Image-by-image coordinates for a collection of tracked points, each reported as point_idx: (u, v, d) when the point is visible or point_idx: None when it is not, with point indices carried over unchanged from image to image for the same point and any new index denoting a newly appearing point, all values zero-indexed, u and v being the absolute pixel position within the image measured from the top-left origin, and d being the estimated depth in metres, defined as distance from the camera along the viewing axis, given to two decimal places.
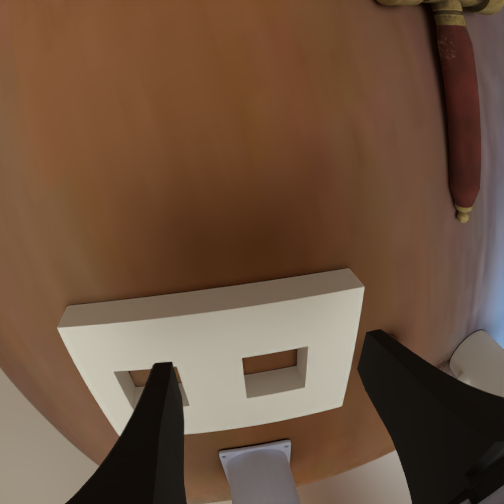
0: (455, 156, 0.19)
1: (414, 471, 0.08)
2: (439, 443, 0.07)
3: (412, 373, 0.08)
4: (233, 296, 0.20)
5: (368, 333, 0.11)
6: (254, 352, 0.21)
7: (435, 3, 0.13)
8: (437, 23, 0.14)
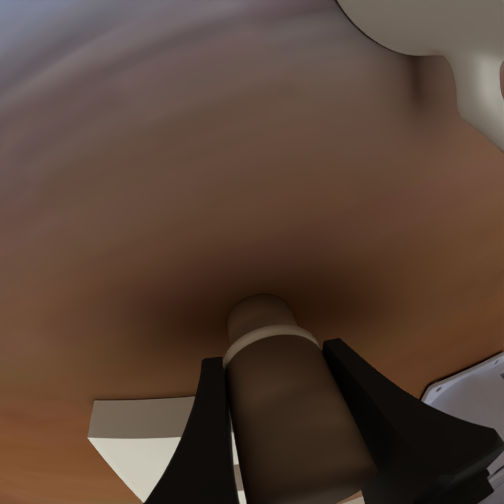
0: None
1: (369, 489, 0.07)
2: (389, 465, 0.06)
3: (364, 388, 0.08)
4: None
5: (325, 343, 0.11)
6: None
7: None
8: None
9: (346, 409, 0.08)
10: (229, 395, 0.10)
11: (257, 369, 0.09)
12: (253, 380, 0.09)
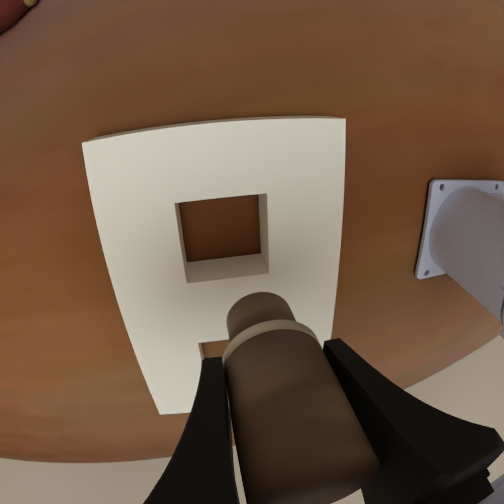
0: None
1: (369, 489, 0.07)
2: (389, 465, 0.06)
3: (364, 388, 0.08)
4: None
5: (326, 342, 0.11)
6: (178, 270, 0.17)
7: None
8: None
9: (347, 403, 0.08)
10: (229, 390, 0.10)
11: (258, 362, 0.09)
12: (254, 373, 0.09)
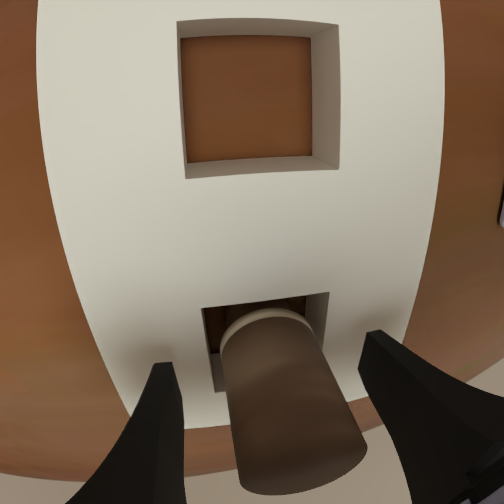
0: None
1: (414, 471, 0.08)
2: (439, 443, 0.07)
3: (412, 373, 0.08)
4: None
5: (369, 334, 0.11)
6: (170, 150, 0.08)
7: None
8: None
9: (337, 386, 0.09)
10: (225, 373, 0.10)
11: (252, 347, 0.10)
12: (249, 357, 0.10)
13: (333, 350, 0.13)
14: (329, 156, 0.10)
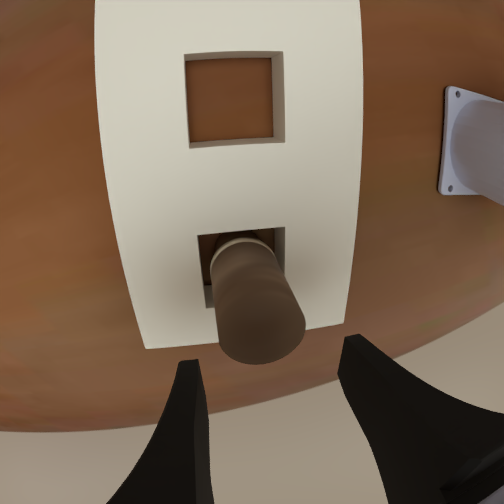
0: None
1: (391, 481, 0.08)
2: (414, 454, 0.07)
3: (388, 381, 0.08)
4: None
5: (347, 338, 0.11)
6: (180, 131, 0.14)
7: None
8: None
9: (285, 280, 0.14)
10: (212, 279, 0.16)
11: (230, 257, 0.15)
12: (228, 262, 0.15)
13: (293, 276, 0.18)
14: (281, 135, 0.16)
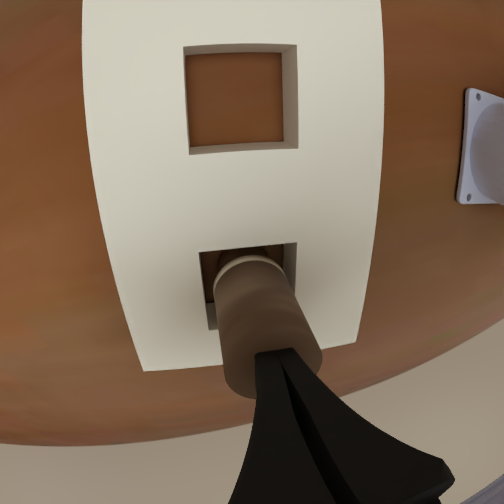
0: None
1: None
2: (326, 485, 0.06)
3: (305, 402, 0.08)
4: None
5: (276, 351, 0.11)
6: (179, 135, 0.12)
7: None
8: None
9: (299, 308, 0.13)
10: (216, 302, 0.14)
11: (237, 279, 0.14)
12: (233, 286, 0.13)
13: (304, 295, 0.17)
14: (293, 140, 0.14)
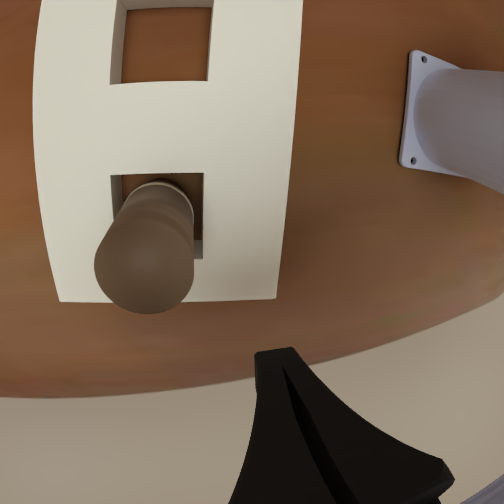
0: None
1: None
2: None
3: (305, 402, 0.08)
4: None
5: (276, 352, 0.11)
6: (103, 67, 0.12)
7: None
8: None
9: (183, 220, 0.12)
10: None
11: (135, 196, 0.13)
12: (129, 200, 0.13)
13: (213, 232, 0.17)
14: (207, 76, 0.14)
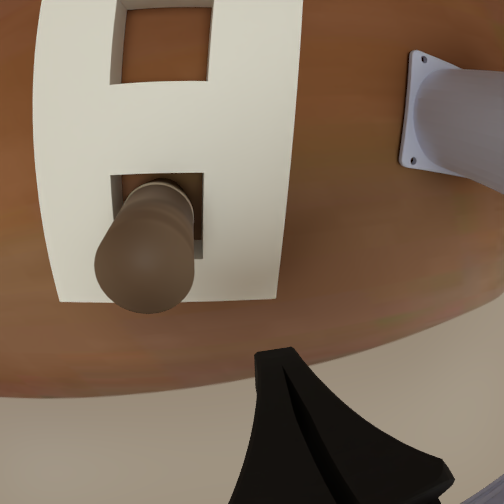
0: None
1: None
2: None
3: (305, 402, 0.08)
4: None
5: (276, 352, 0.11)
6: (103, 67, 0.12)
7: None
8: None
9: (184, 220, 0.12)
10: None
11: (135, 196, 0.13)
12: (130, 200, 0.13)
13: (213, 232, 0.17)
14: (207, 76, 0.14)
